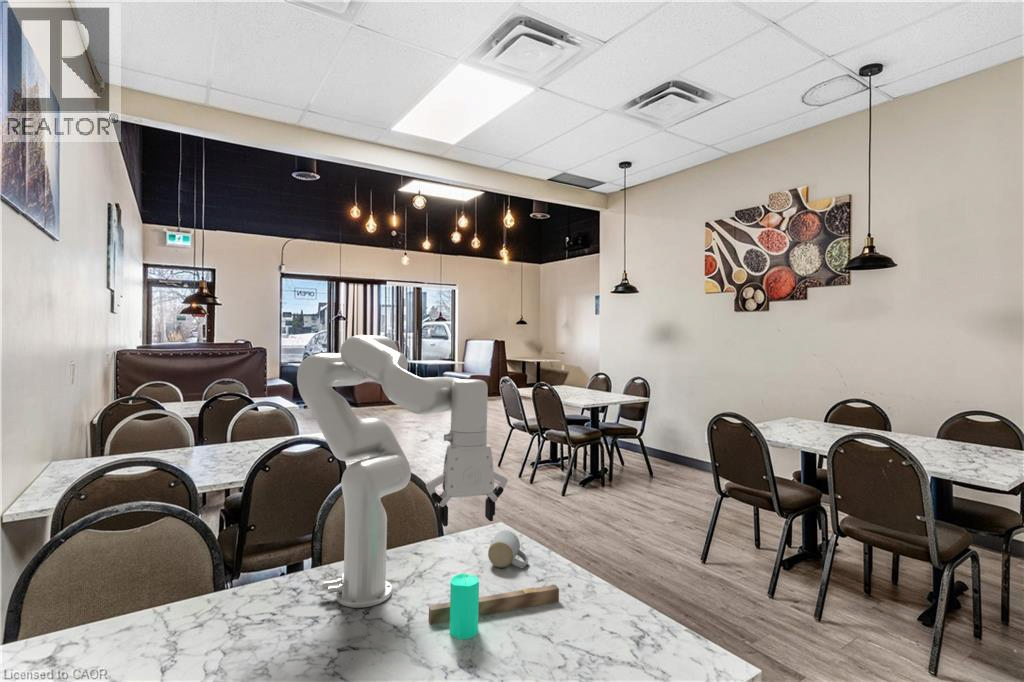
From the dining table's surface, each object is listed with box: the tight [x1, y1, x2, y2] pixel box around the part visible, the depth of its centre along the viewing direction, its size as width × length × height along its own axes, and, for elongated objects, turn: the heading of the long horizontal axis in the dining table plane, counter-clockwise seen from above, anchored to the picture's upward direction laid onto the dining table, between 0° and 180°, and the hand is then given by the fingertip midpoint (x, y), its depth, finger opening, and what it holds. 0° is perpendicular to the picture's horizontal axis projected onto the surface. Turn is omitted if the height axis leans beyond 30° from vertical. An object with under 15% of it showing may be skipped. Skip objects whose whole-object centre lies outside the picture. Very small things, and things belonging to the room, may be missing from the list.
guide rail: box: [428, 584, 560, 625], centre depth 111 cm, size 30×2×3 cm, turn 111°
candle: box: [449, 571, 480, 640], centre depth 103 cm, size 6×6×12 cm
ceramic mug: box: [487, 529, 529, 569], centre depth 136 cm, size 11×8×8 cm
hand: (467, 521), depth 103 cm, fingers open, 9 cm apart
